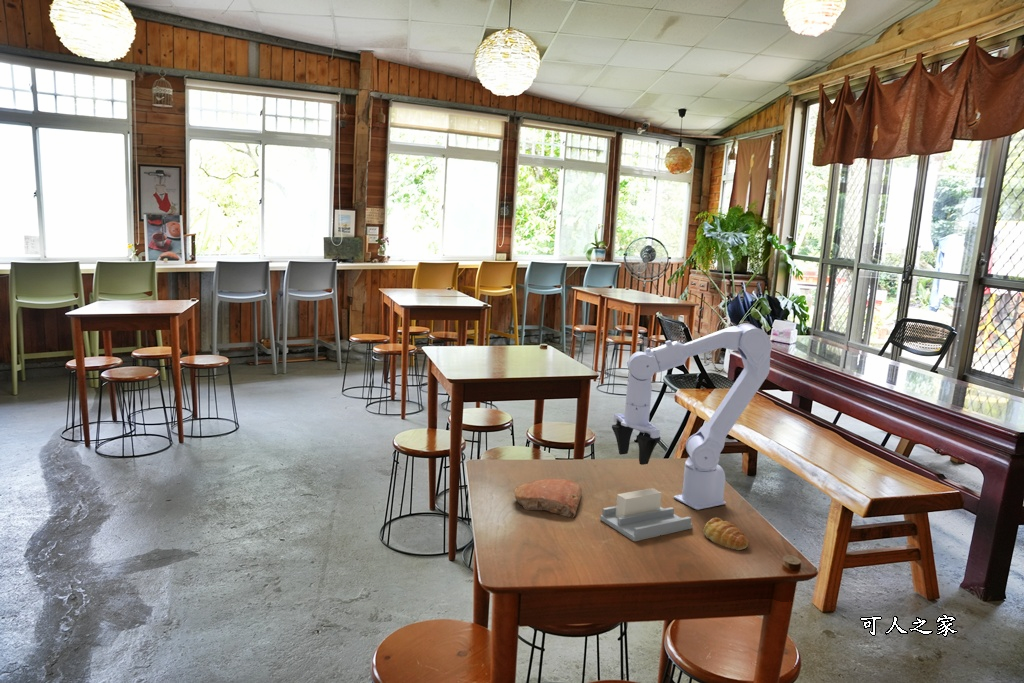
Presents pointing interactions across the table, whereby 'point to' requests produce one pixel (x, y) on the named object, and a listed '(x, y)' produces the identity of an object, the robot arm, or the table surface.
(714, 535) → the pastry
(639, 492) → the white rectangular block
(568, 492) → the ceramic shard
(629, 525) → the grey ridged tray
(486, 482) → the table surface
